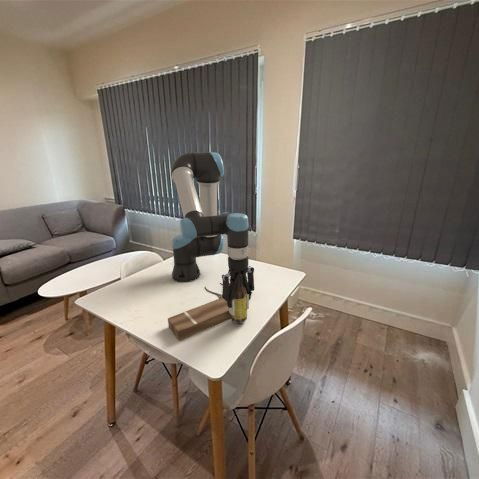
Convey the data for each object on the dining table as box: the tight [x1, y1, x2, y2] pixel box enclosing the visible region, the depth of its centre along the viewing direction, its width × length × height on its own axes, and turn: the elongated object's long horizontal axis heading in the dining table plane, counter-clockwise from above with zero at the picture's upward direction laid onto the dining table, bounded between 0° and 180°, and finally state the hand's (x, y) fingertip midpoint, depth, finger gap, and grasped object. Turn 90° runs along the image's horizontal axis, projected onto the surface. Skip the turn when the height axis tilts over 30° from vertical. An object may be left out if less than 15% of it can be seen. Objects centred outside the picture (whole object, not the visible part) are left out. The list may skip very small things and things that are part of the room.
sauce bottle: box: [231, 274, 248, 324], centre depth 101 cm, size 6×6×20 cm
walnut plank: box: [167, 297, 232, 342], centre depth 105 cm, size 10×28×4 cm, turn 126°
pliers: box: [204, 282, 223, 299], centre depth 126 cm, size 10×1×20 cm
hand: (239, 310), depth 103 cm, fingers closed on sauce bottle, 6 cm apart
